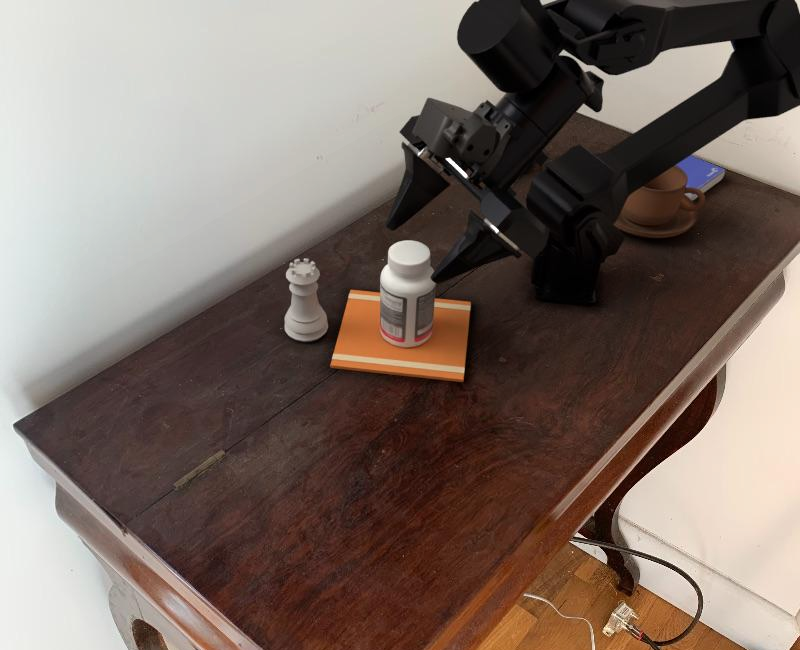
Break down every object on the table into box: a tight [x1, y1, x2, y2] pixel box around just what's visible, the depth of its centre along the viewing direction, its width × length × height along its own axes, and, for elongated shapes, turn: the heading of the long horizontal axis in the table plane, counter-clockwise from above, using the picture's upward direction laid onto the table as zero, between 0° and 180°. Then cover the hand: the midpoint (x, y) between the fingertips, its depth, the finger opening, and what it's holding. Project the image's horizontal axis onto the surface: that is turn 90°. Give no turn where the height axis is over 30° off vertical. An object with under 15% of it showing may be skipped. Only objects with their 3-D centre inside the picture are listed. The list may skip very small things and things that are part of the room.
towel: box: [330, 289, 472, 383], centre depth 82 cm, size 13×12×1 cm
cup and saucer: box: [614, 165, 706, 239], centre depth 96 cm, size 12×12×6 cm
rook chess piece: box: [284, 257, 329, 343], centre depth 79 cm, size 4×4×8 cm
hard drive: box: [676, 155, 726, 201], centre depth 106 cm, size 2×8×12 cm
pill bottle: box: [379, 239, 437, 347], centre depth 78 cm, size 5×5×10 cm
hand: (410, 253), depth 75 cm, fingers open, 9 cm apart
